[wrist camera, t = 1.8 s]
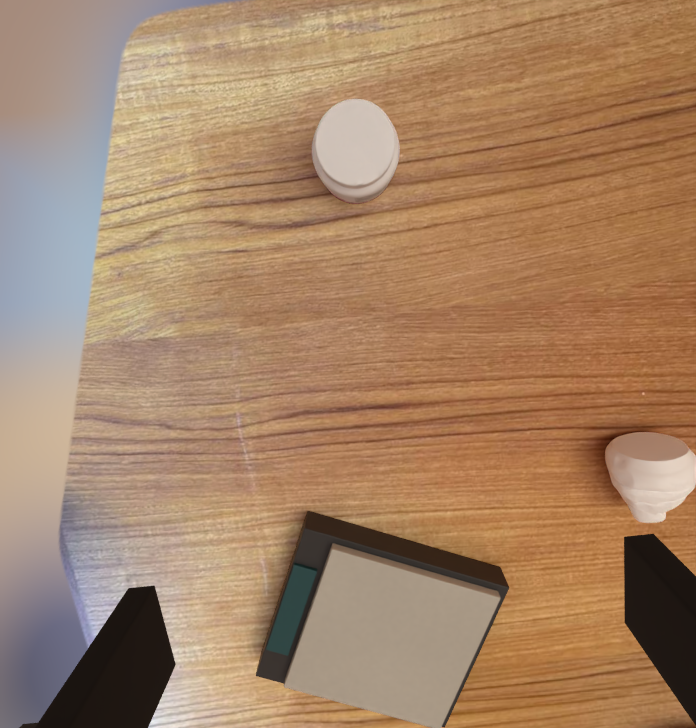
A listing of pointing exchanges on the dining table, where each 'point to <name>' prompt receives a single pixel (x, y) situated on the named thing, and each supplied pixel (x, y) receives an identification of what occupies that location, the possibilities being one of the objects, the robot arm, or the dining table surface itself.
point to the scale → (380, 621)
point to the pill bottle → (355, 150)
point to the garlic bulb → (651, 473)
